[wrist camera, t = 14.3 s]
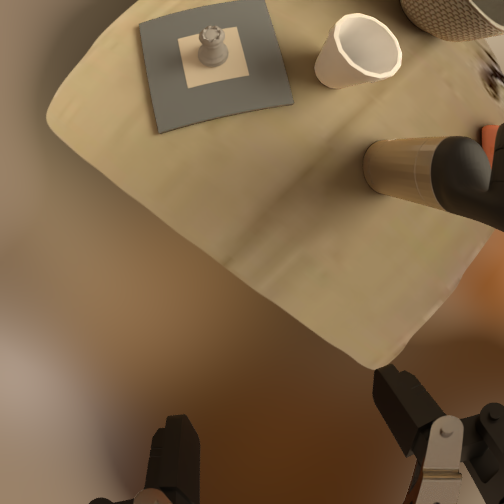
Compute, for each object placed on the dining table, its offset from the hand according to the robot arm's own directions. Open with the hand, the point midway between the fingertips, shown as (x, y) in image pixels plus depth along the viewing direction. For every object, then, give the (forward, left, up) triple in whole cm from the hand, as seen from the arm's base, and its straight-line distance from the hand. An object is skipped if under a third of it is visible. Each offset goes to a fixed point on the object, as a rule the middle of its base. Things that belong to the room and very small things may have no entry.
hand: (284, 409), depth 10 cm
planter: (-45, -37, -35) cm, 68 cm away
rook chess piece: (-2, -26, -34) cm, 43 cm away
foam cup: (-20, -22, -35) cm, 46 cm away
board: (-2, -27, -35) cm, 44 cm away
